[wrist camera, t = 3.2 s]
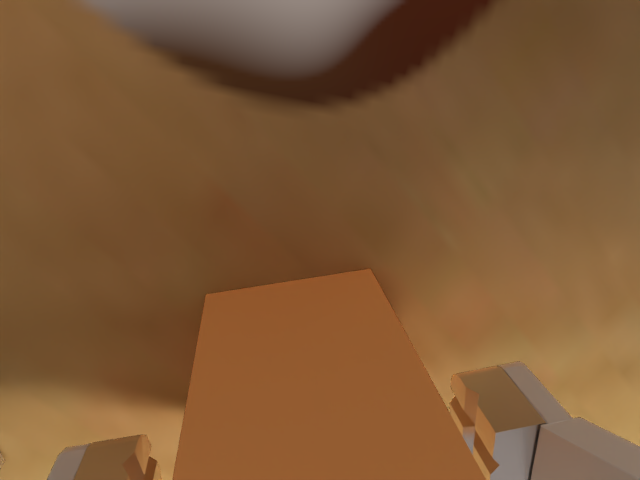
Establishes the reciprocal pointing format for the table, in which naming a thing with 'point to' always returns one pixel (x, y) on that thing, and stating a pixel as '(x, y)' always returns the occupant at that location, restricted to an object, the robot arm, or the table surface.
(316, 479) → the orange block
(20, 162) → the table surface
